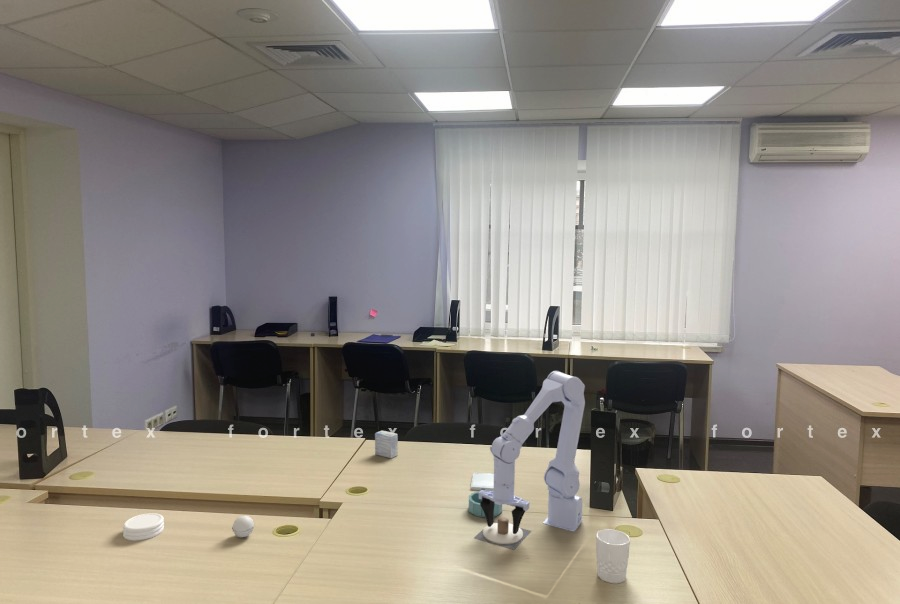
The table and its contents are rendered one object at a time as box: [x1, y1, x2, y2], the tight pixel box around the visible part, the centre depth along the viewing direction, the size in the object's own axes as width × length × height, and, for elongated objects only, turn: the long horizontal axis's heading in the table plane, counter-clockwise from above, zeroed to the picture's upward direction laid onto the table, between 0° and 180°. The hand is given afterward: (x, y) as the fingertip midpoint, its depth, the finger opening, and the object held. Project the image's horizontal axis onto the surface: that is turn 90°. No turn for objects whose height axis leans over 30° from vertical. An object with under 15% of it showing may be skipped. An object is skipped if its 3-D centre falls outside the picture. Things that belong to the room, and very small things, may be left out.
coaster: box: [122, 512, 165, 542], centre depth 158 cm, size 10×10×4 cm
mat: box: [473, 520, 532, 551], centre depth 159 cm, size 12×12×1 cm
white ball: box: [231, 515, 255, 538], centre depth 156 cm, size 8×6×6 cm
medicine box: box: [374, 430, 399, 459], centre depth 220 cm, size 8×4×9 cm, turn 58°
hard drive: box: [470, 472, 494, 491], centre depth 195 cm, size 2×8×12 cm
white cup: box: [595, 528, 631, 584], centre depth 140 cm, size 8×8×10 cm
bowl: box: [468, 490, 503, 518], centre depth 174 cm, size 10×10×4 cm
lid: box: [482, 516, 523, 544], centre depth 159 cm, size 11×11×4 cm
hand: (502, 528), depth 159 cm, fingers open, 7 cm apart
